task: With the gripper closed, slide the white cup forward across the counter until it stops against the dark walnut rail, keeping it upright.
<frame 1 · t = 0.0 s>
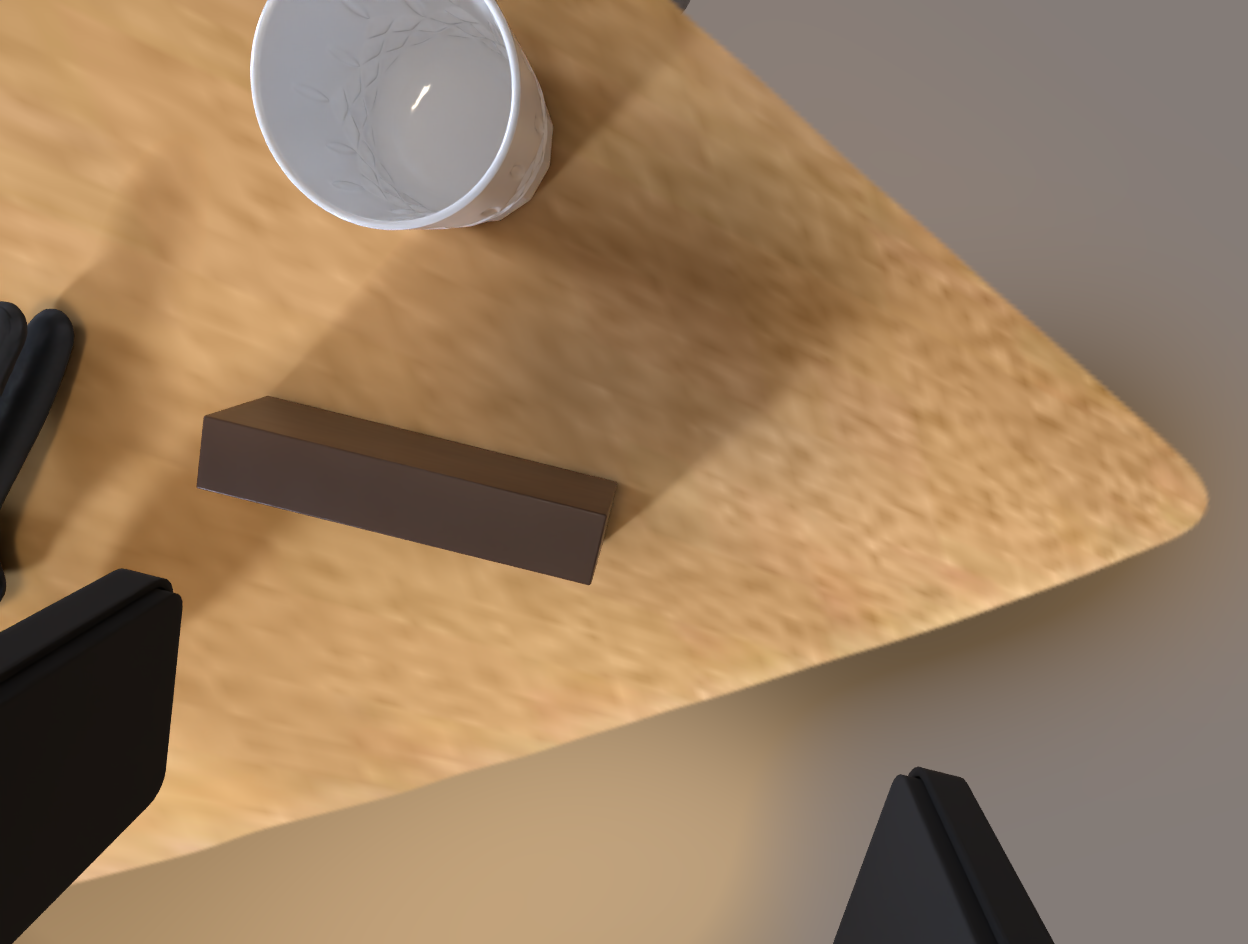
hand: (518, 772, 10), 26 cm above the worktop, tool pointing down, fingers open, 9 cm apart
walnut rail: (436, 470, 37), on the worktop
can opener: (3, 467, 38), on the worktop
white cup: (472, 138, 33), on the worktop
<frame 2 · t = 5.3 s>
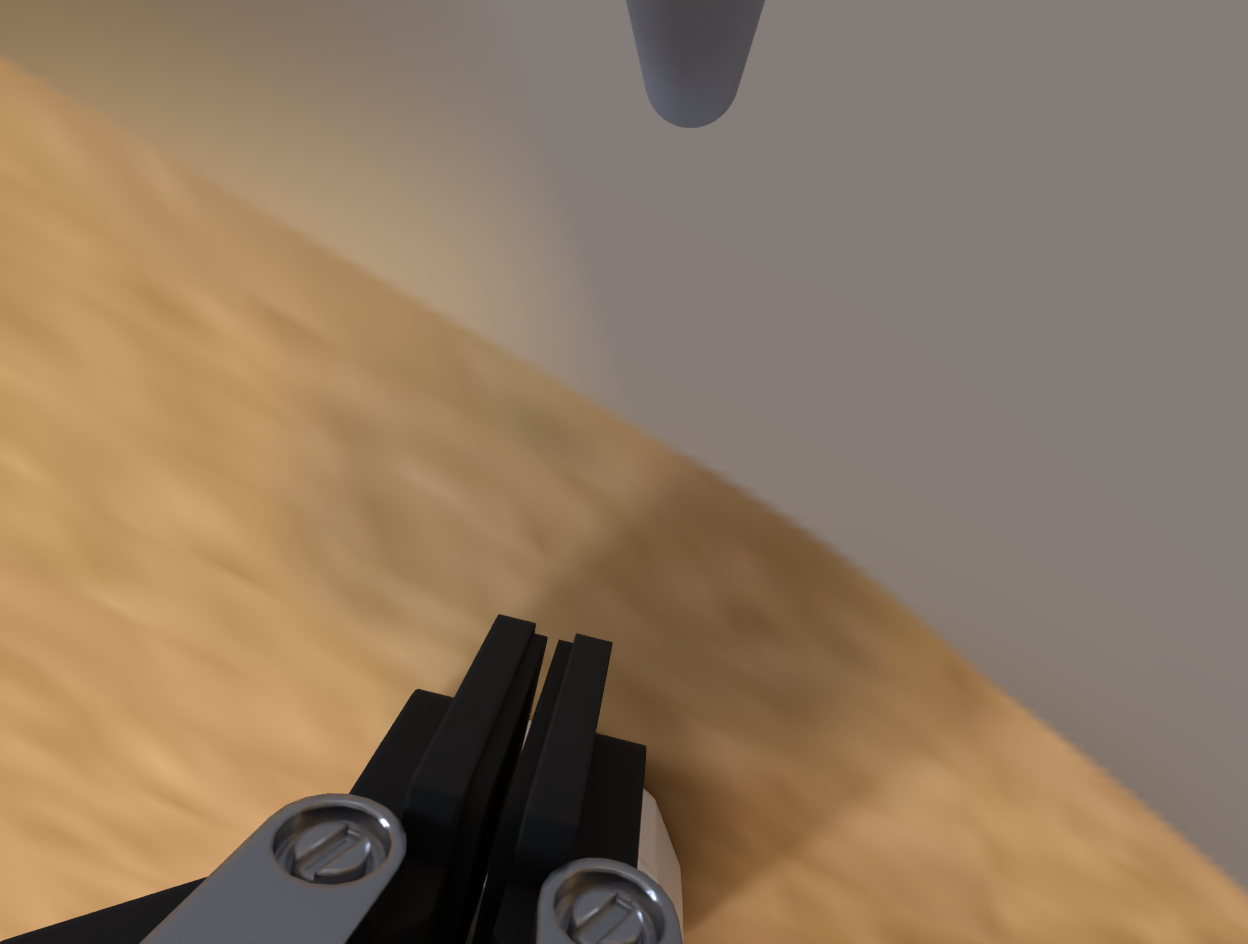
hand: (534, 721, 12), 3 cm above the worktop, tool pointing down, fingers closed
white cup: (510, 858, 16), on the worktop, touching gripper
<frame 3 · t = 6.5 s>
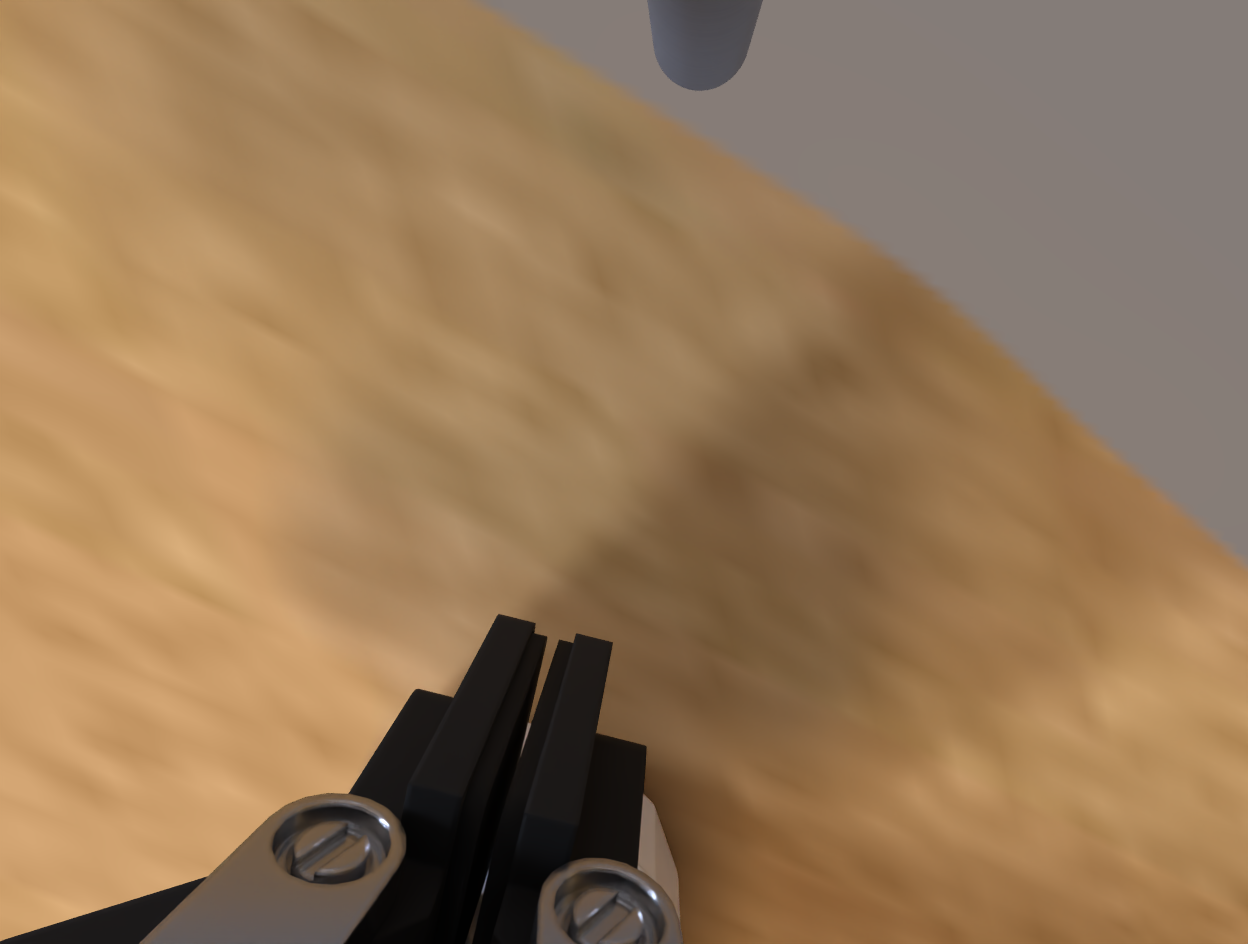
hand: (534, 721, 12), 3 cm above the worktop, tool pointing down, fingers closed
white cup: (506, 861, 16), on the worktop, touching gripper
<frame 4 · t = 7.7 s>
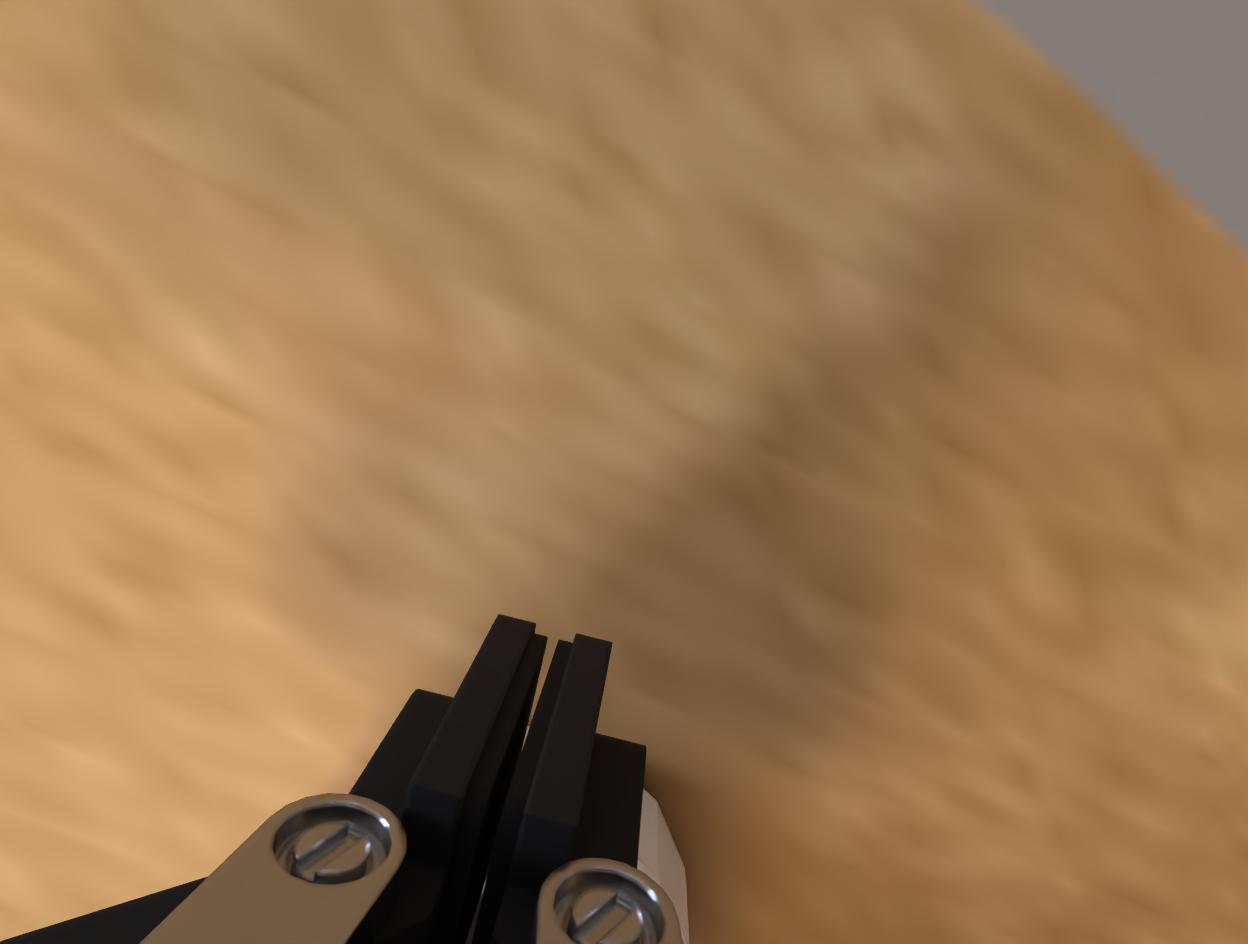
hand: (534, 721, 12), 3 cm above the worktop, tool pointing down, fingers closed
white cup: (513, 866, 16), on the worktop, touching gripper
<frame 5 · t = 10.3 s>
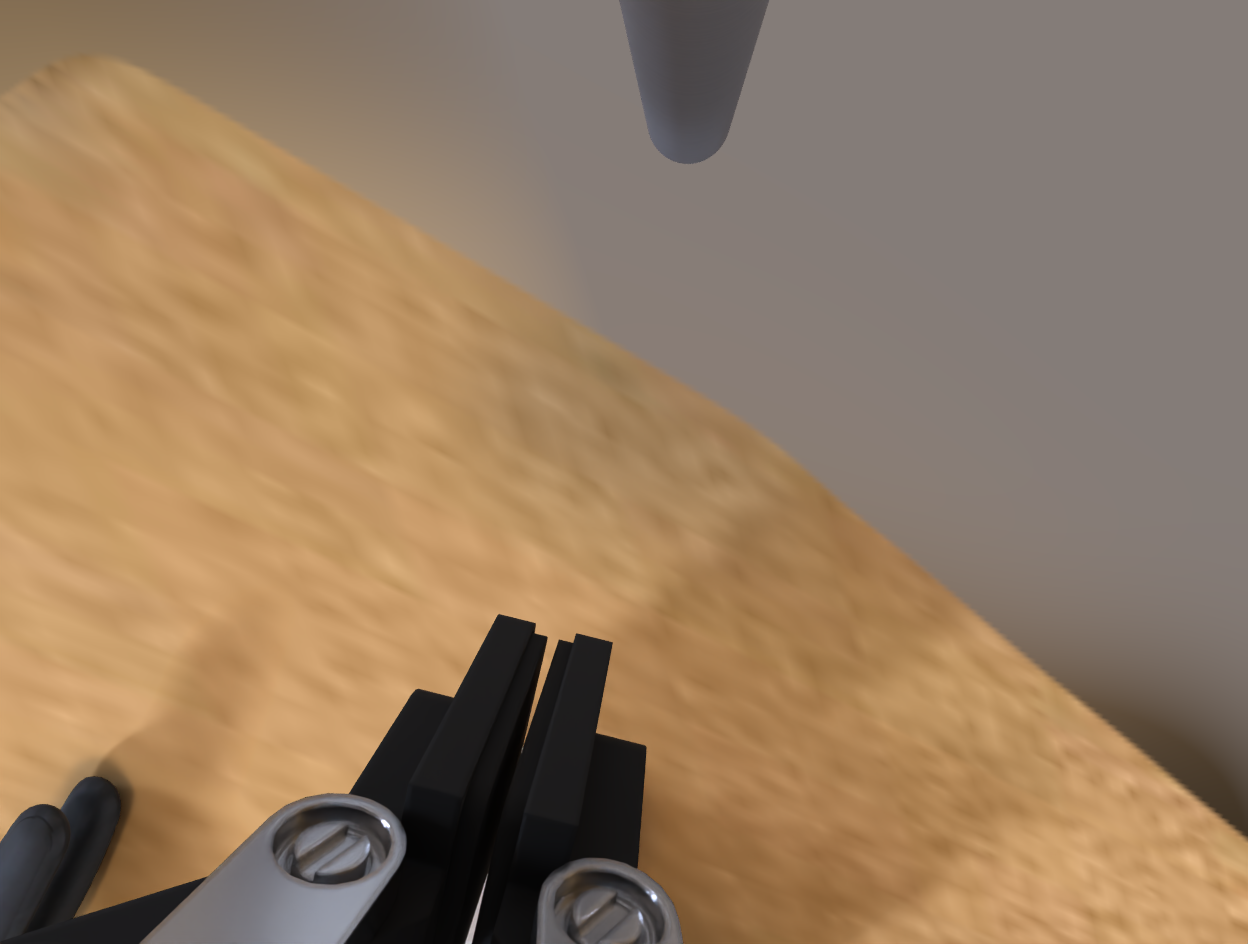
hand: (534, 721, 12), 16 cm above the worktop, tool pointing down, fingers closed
can opener: (34, 921, 34), on the worktop
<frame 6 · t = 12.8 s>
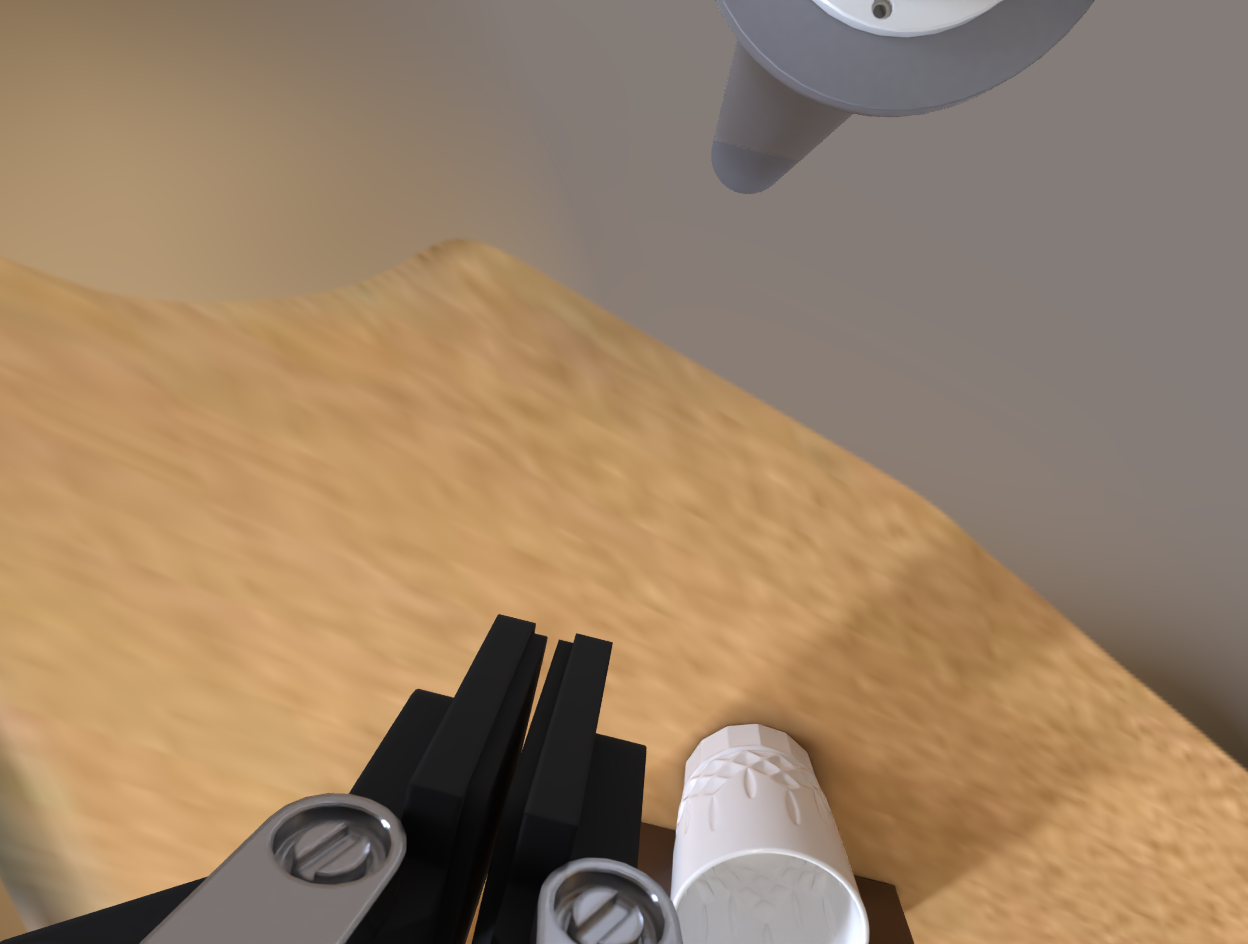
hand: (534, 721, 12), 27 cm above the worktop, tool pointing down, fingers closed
walnut rail: (738, 871, 44), on the worktop
white cup: (748, 778, 42), on the worktop
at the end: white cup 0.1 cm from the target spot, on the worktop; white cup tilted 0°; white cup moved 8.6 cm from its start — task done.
